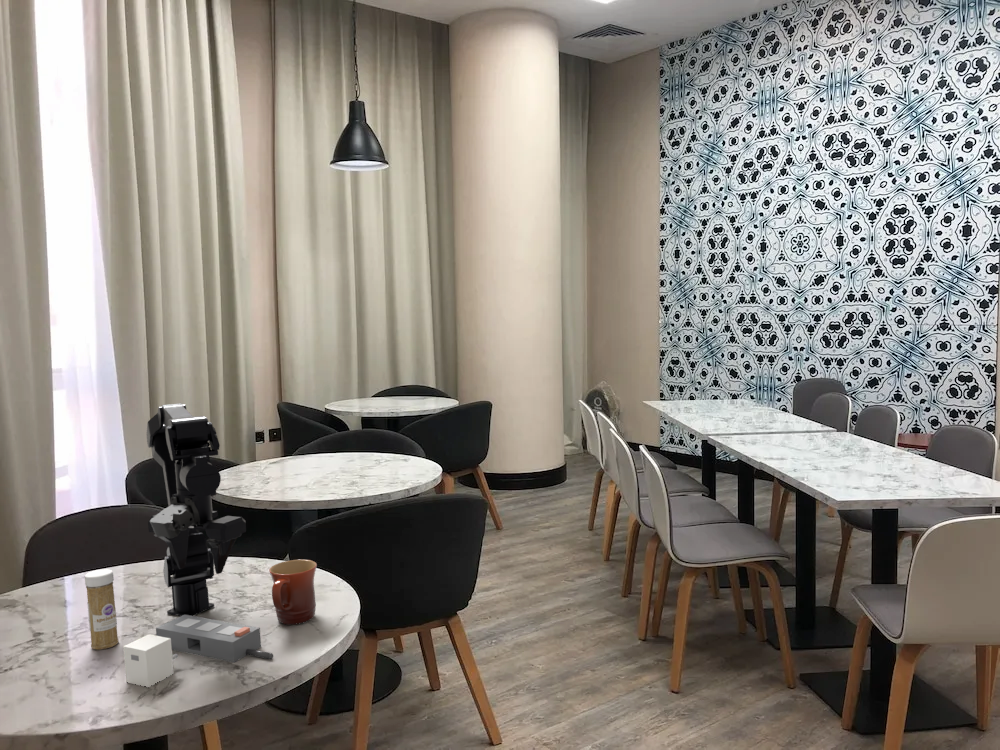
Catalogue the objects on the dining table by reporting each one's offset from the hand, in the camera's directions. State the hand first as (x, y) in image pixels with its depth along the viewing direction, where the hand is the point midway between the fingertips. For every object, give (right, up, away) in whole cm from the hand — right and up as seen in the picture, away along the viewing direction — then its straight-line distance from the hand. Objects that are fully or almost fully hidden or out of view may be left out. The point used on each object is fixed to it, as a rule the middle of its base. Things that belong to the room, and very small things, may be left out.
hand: (200, 570), depth 145 cm
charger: (-2, -13, -15) cm, 20 cm away
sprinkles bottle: (-16, -13, -2) cm, 21 cm away
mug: (+16, -11, +5) cm, 20 cm away
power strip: (+6, -12, -6) cm, 15 cm away
